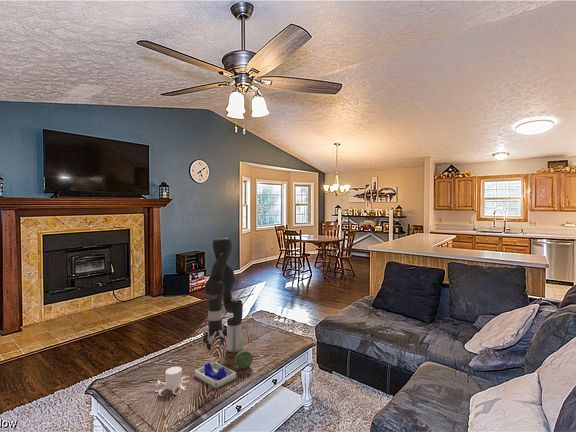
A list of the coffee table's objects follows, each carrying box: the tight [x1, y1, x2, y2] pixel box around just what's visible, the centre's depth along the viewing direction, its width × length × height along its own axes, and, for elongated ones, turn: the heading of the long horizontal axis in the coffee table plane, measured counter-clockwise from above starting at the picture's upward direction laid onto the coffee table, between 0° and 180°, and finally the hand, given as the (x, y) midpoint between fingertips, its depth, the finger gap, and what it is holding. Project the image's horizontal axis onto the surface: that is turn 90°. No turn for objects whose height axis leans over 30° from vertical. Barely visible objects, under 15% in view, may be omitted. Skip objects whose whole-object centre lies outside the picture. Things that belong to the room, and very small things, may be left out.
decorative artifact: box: [234, 349, 254, 370], centre depth 181 cm, size 10×7×10 cm
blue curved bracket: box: [204, 361, 227, 380], centre depth 173 cm, size 12×4×6 cm, turn 59°
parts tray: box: [194, 361, 238, 389], centre depth 173 cm, size 14×20×3 cm
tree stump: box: [154, 366, 190, 397], centre depth 166 cm, size 20×19×8 cm
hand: (215, 347), depth 173 cm, fingers open, 8 cm apart
